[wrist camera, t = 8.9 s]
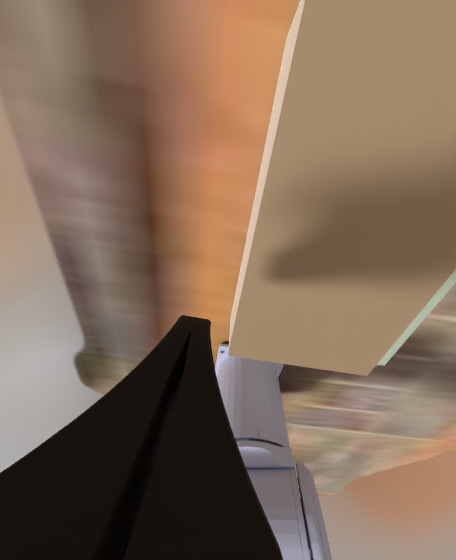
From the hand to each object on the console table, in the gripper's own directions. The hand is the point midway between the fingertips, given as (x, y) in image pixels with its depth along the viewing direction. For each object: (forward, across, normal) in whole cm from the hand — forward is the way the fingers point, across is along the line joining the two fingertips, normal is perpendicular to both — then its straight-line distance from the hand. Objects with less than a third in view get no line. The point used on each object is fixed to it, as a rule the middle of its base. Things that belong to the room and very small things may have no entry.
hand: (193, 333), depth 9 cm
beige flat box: (+9, -8, -4) cm, 13 cm away
